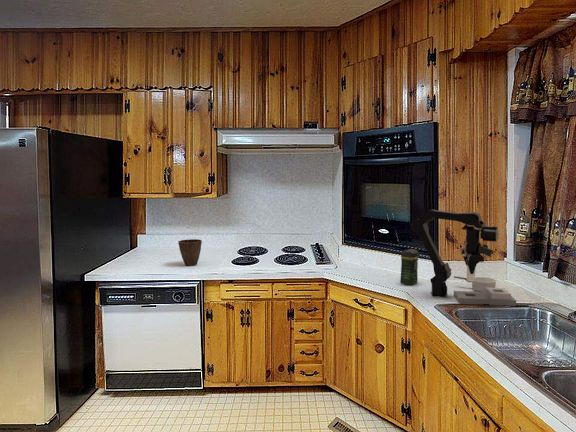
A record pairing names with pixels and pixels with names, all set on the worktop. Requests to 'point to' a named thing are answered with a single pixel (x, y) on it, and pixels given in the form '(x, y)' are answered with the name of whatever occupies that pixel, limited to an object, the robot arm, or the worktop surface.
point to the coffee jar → (409, 267)
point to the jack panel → (486, 297)
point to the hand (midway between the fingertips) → (470, 273)
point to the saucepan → (481, 283)
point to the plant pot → (190, 251)
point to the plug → (470, 275)
